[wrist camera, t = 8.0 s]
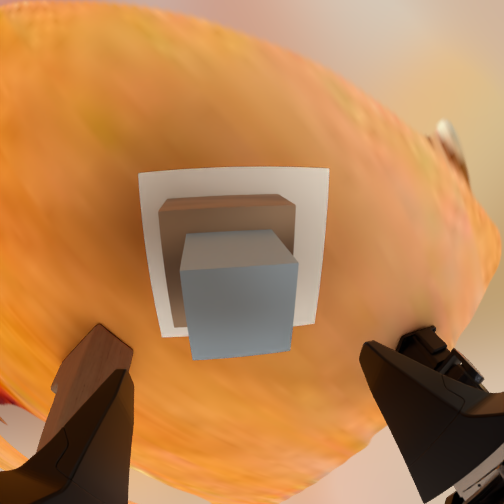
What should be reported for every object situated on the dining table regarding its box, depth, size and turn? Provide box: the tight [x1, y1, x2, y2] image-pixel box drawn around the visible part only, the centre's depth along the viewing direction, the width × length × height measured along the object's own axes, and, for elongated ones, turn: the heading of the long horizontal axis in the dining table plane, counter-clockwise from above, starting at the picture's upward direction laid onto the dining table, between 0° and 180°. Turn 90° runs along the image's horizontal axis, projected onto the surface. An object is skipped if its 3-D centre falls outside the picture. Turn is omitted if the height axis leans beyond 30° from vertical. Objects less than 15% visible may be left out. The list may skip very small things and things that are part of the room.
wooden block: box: [36, 325, 133, 453], centre depth 14 cm, size 9×4×18 cm, turn 129°
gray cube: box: [180, 229, 299, 360], centre depth 14 cm, size 5×5×5 cm
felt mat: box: [138, 166, 329, 337], centre depth 21 cm, size 14×14×1 cm
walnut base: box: [158, 194, 296, 328], centre depth 19 cm, size 8×8×4 cm
